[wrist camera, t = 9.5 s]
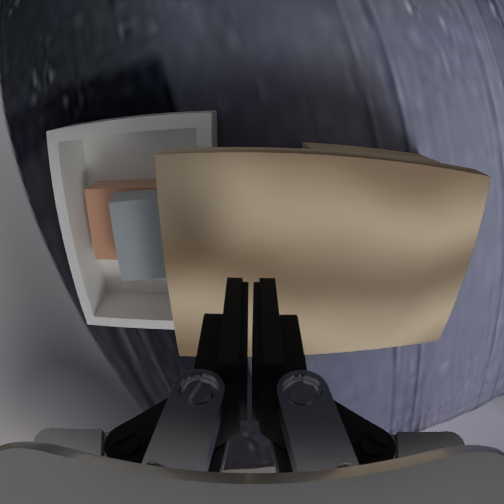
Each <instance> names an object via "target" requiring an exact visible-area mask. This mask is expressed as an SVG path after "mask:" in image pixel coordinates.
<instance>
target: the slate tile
mask: <svg viewBox="0 0 504 504" xmlns="http://www.w3.org/2000/svg"><path fill="white" fill-rule="evenodd" d="M108 204H109V211H110V217H111V224H112V230H113V236H114V242H115V247H116V252H117V258H118V263H119V268H120V273H121V277H122V281H133V280H145V279H157V278H167V277H166V269H165V262H164V254H163V245H162V236H161V227H160V217H159V207H158V195H157V188H154V189H144V190H134V191H124V192H115V193H114V195H113V196H112V198H111V200H110V201H109V203H108Z"/></svg>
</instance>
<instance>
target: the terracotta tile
mask: <svg viewBox="0 0 504 504" xmlns="http://www.w3.org/2000/svg"><path fill="white" fill-rule="evenodd" d="M154 188H157V183H156V179H136V180H111V181H96V182H95V183H93V184H92V185H90V186H89V187H87V188H86V189H84V191H85V199H86V206H87V213H88V220H89V226H90V232H91V238H92V243H93V249H94V254H95V259H108V260H118V258H117V252H116V247H115V242H114V236H113V230H112V224H111V217H110V211H109V204H108V203H109V201H110V200H111V198H112V196H113V195H114V193H115V192H124V191H134V190H144V189H154Z"/></svg>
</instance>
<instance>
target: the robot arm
mask: <svg viewBox="0 0 504 504" xmlns="http://www.w3.org/2000/svg"><path fill="white" fill-rule="evenodd" d="M248 289H249V282H243V278H233V277H227V283H226V291H225V300H224V309H223V314H210V313H205V314H204V317H203V322H202V328H201V333H200V338H199V344H198V350H197V355H196V361H195V367H194V370H189V371H187V372H185V373H183V374H182V375H180V376H179V377H178V378H177V379H176V381H175V383H174V385H173V387H172V389H171V392H170V394H169V397H168V398H167V399H165V400H163V401H162V402H160V403H158V404H157V405H155V406H153V407H152V408H150V409H148V410H146V411H145V412H143V413H141V414H139V415H138V416H136V417H134V418H132V419H131V420H129V421H127V422H125V423H123V424H121V425H120V426H118V427H116V428H115V429H113V430H112V431H111V432H103V430H102V429H65V428H46V429H43V430H41V431H40V432H39V433H38V434H37V435H36V436H35V439H34V441H33V442H14V443H8V444H4V445H1V446H0V504H504V452H502V451H501V450H499V449H496V448H493V447H488V446H480V445H465V444H464V442H463V439H462V438H461V437H460V436H459V435H457V434H456V433H454V432H448V431H447V432H397V434H396V435H391V434H389V433H387V432H386V431H385V430H383V429H382V428H380V427H378V426H376V425H375V424H373V423H371V422H369V421H368V420H366V419H364V418H363V417H361V416H359V415H357V414H356V413H354V412H352V411H351V410H349V409H347V408H346V407H344V406H343V405H341V404H339V403H338V402H336V401H334V400H333V397H332V395H331V393H330V390H329V388H328V385H327V383H326V382H325V380H324V379H323V378H322V377H321V376H319V375H318V374H316V373H314V372H311V371H307V368H306V362H305V356H304V350H303V344H302V338H301V333H300V327H299V321H298V317H297V315H279V307H278V298H277V290H276V281H275V278H260V280H259V282H254V283H253V324H252V421H259V429H260V432H261V433H262V434H263V435H264V436H266V437H267V438H268V439H270V447H271V451H272V455H273V460H274V464H275V468H276V473H222V471H223V467H224V463H225V459H226V454H227V450H228V446H229V439H231V438H232V437H233V436H235V435H236V434H237V433H239V432H240V420H245V421H247V367H248Z"/></svg>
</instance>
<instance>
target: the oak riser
mask: <svg viewBox="0 0 504 504" xmlns="http://www.w3.org/2000/svg"><path fill="white" fill-rule="evenodd" d="M155 168H156V183H157V195H158V207H159V217H160V227H161V236H162V245H163V254H164V262H165V269H166V277H167V284H168V291H169V297H170V304H171V310H172V317H173V323H174V328H175V334H176V340H177V345H178V351H179V356H196V355H197V350H198V344H199V338H200V333H201V328H202V322H203V317H204V314H205V313H210V314H223V309H224V300H225V291H226V283H227V277H233V278H243V282H249V289H248V357H252V324H253V283H254V282H259V280H260V278H275V281H276V290H277V298H278V307H279V315H297V317H298V321H299V327H300V333H301V338H302V344H303V350H304V355H310V354H325V353H339V352H350V351H361V350H370V349H379V348H388V347H396V346H403V345H411V344H417V343H424V342H430V341H437V340H439V339H440V337H441V335H442V332H443V330H444V328H445V326H446V323H447V321H448V318H449V316H450V314H451V311H452V309H453V306H454V304H455V301H456V299H457V296H458V293H459V291H460V288H461V285H462V282H463V280H464V277H465V274H466V271H467V268H468V265H469V262H470V259H471V255H472V252H473V249H474V245H475V242H476V239H477V235H478V231H479V228H480V224H481V220H482V216H483V212H484V207H485V203H486V198H487V194H488V189H489V184H490V179H491V177H490V176H488V175H486V174H484V173H482V172H479V171H477V170H475V169H470V168H465V167H460V166H454V165H449V164H443V163H440V162H437V161H435V160H433V159H430V158H428V157H425V156H423V155H421V154H416V153H409V152H402V151H394V150H386V149H378V148H369V147H360V146H349V145H338V144H325V143H309V142H302V149H300V148H274V147H203V148H176V149H163V150H161V151H160V152H158V153H157V154H155Z"/></svg>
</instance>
